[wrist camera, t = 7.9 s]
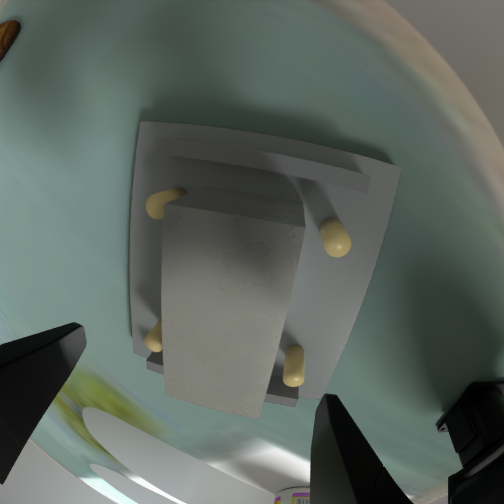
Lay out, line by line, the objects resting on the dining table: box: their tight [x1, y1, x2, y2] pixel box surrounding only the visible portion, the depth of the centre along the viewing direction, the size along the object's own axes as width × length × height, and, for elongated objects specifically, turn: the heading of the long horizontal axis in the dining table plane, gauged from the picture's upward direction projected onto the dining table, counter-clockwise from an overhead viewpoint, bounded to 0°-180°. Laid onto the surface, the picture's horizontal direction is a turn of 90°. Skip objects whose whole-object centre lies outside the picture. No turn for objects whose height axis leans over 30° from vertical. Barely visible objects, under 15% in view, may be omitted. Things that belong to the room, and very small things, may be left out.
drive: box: [161, 187, 306, 419], centre depth 14 cm, size 5×10×5 cm, turn 172°
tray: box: [130, 121, 402, 407], centre depth 15 cm, size 14×16×4 cm
